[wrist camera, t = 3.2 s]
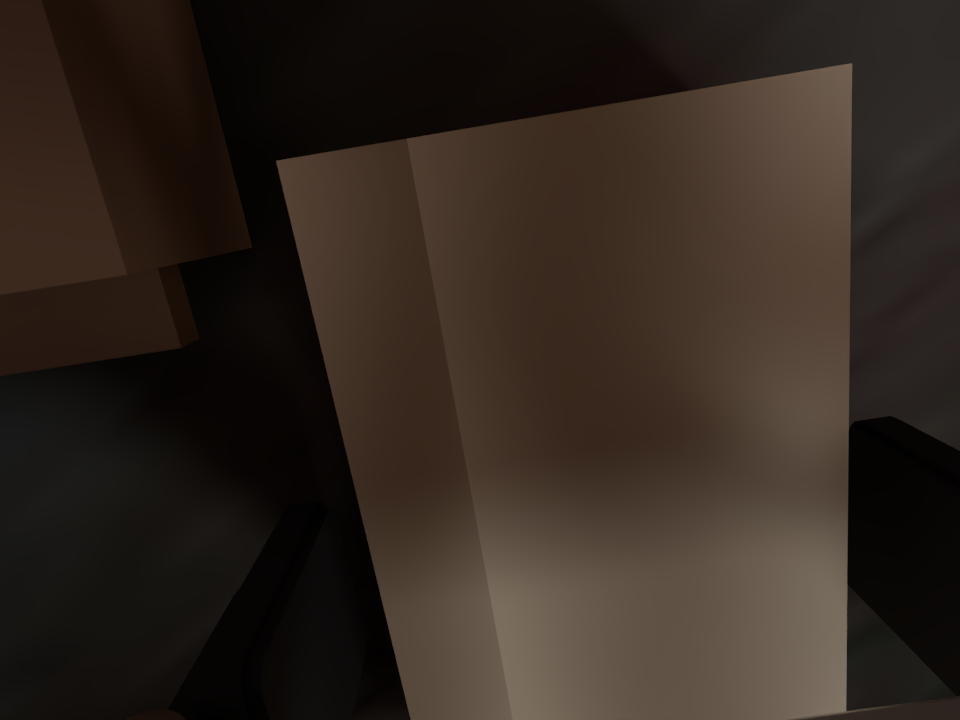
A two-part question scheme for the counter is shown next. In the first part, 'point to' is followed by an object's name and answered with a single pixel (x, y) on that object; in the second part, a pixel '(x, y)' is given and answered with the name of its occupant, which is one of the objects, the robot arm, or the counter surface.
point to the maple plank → (600, 400)
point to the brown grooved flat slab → (106, 179)
